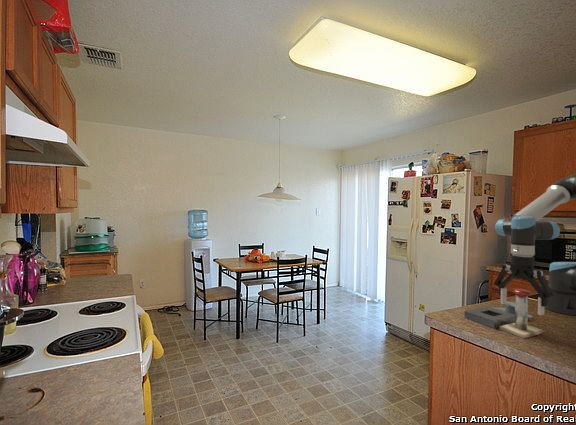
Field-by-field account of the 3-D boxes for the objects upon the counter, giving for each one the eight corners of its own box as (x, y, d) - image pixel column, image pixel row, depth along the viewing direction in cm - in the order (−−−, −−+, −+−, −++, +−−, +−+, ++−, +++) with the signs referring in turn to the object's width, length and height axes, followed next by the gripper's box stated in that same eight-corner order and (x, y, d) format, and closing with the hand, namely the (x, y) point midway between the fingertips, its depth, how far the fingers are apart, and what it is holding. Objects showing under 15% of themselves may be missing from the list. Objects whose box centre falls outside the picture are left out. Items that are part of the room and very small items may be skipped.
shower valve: (508, 308, 135) (488, 298, 149) (508, 320, 135) (488, 309, 150) (538, 309, 134) (515, 298, 149) (538, 321, 134) (515, 309, 149)
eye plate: (488, 312, 143) (488, 306, 143) (518, 322, 131) (518, 315, 131) (464, 317, 137) (464, 310, 137) (494, 328, 125) (494, 321, 125)
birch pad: (517, 324, 129) (518, 321, 129) (542, 333, 121) (542, 330, 121) (499, 329, 124) (499, 326, 124) (524, 338, 116) (524, 335, 116)
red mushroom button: (517, 324, 126) (518, 288, 126) (534, 329, 121) (534, 291, 120) (508, 326, 124) (509, 289, 123) (524, 332, 118) (525, 293, 118)
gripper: (485, 251, 132) (484, 300, 132) (554, 261, 109) (553, 321, 109) (496, 250, 135) (495, 298, 135) (566, 260, 112) (565, 318, 112)
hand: (521, 308), depth 122 cm, fingers open, 13 cm apart
